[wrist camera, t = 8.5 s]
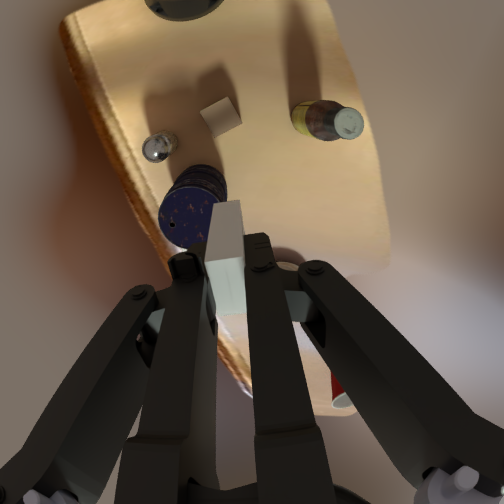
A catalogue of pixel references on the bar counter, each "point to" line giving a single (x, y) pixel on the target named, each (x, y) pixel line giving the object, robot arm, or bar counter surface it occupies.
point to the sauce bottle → (327, 120)
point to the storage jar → (191, 205)
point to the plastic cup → (339, 395)
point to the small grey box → (221, 117)
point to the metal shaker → (159, 146)
